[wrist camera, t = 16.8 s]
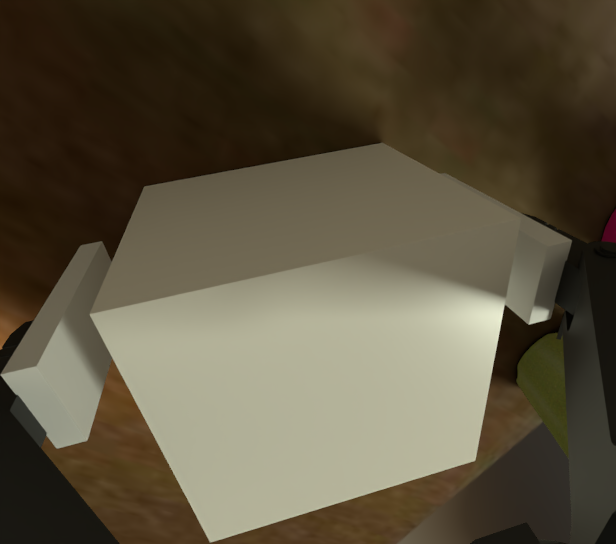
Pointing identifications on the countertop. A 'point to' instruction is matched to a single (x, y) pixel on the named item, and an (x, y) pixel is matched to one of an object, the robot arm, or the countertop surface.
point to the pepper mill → (610, 229)
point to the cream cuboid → (308, 328)
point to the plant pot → (546, 384)
